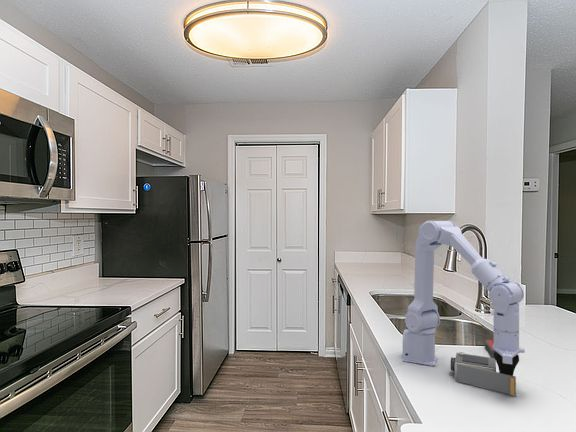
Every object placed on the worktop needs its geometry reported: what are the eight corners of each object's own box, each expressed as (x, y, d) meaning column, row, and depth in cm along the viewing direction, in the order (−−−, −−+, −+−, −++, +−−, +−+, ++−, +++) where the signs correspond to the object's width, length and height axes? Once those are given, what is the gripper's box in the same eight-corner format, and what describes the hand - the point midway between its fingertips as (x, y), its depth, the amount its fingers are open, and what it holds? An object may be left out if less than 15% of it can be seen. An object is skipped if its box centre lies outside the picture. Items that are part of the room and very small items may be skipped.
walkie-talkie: (523, 363, 120) (507, 343, 139) (523, 349, 120) (507, 331, 139) (491, 360, 122) (479, 341, 141) (491, 346, 122) (479, 329, 141)
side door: (453, 381, 105) (453, 363, 105) (455, 379, 106) (455, 362, 106) (514, 396, 96) (514, 377, 96) (515, 394, 97) (515, 376, 97)
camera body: (449, 379, 107) (449, 359, 107) (452, 369, 114) (452, 350, 114) (496, 387, 102) (496, 366, 102) (495, 376, 109) (495, 356, 109)
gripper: (527, 339, 91) (527, 398, 91) (522, 324, 104) (522, 375, 104) (493, 335, 94) (493, 391, 94) (492, 321, 107) (492, 370, 107)
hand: (506, 383), depth 99 cm, fingers closed
